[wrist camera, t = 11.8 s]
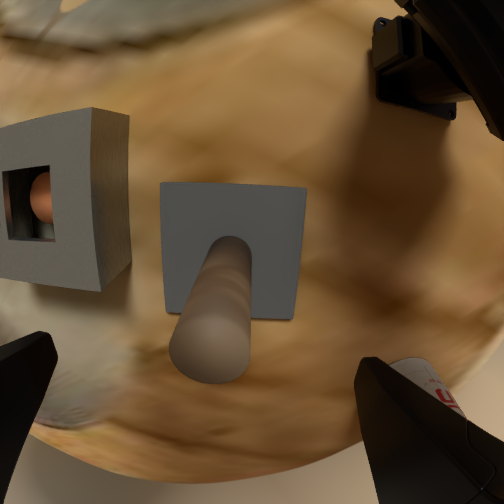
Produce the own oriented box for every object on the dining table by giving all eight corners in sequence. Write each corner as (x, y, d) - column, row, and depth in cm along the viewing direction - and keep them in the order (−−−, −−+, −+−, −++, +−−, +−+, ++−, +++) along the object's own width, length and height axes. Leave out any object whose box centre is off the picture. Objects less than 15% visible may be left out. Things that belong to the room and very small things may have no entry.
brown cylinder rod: (252, 237, 19) (252, 323, 9) (250, 278, 20) (248, 386, 10) (208, 234, 19) (165, 317, 9) (208, 276, 20) (172, 380, 10)
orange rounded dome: (81, 167, 17) (65, 170, 15) (83, 216, 18) (68, 223, 16) (45, 170, 17) (28, 174, 15) (48, 216, 18) (32, 223, 16)
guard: (129, 115, 17) (92, 107, 12) (131, 260, 20) (101, 291, 15) (22, 132, 17) (-21, 134, 12) (30, 253, 20) (-7, 276, 15)
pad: (305, 187, 18) (306, 189, 18) (292, 314, 21) (293, 319, 21) (163, 182, 18) (160, 183, 18) (168, 307, 21) (165, 311, 21)
